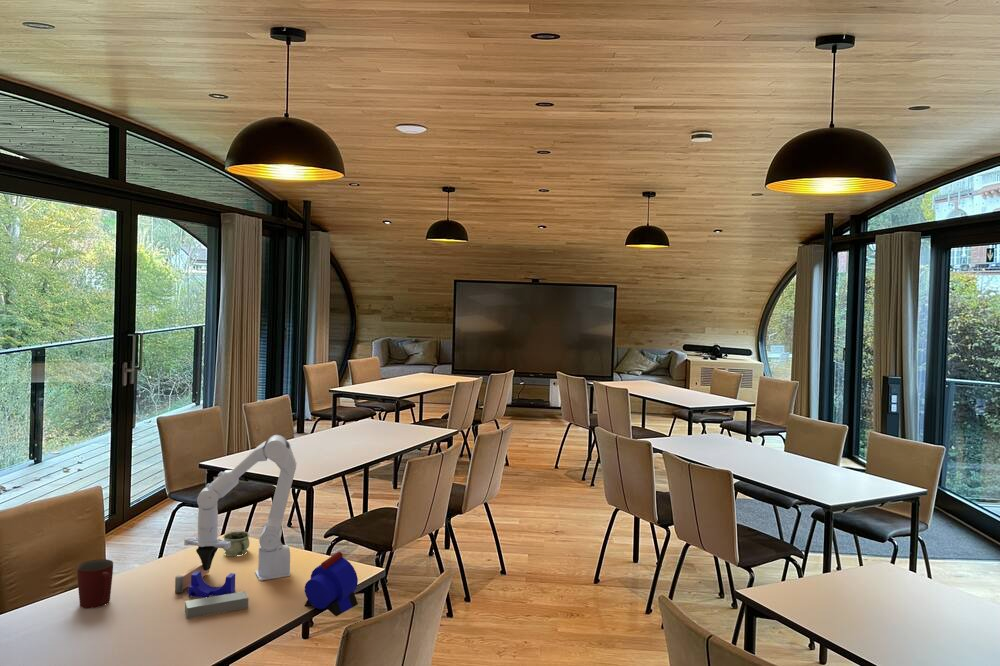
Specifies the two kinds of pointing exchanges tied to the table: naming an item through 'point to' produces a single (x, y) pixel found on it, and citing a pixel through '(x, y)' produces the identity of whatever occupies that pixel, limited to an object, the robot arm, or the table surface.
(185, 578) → the bar
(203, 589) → the blue pipe saddle
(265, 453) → the robot arm
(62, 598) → the table surface
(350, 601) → the blue electric motor
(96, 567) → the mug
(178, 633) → the table surface
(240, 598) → the grey rectangular block
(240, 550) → the vessel
